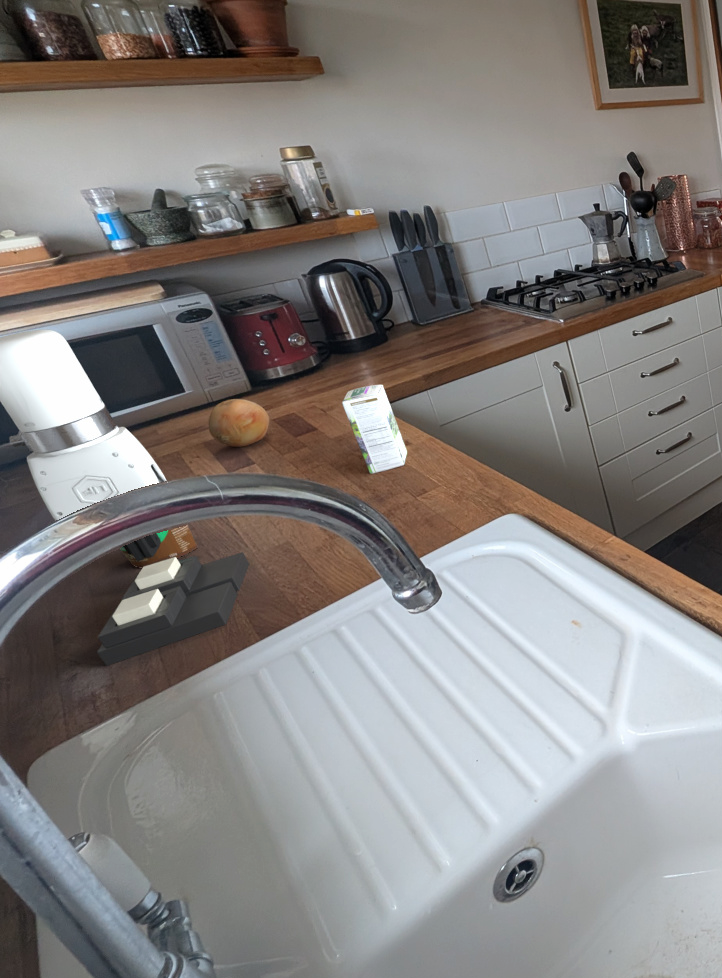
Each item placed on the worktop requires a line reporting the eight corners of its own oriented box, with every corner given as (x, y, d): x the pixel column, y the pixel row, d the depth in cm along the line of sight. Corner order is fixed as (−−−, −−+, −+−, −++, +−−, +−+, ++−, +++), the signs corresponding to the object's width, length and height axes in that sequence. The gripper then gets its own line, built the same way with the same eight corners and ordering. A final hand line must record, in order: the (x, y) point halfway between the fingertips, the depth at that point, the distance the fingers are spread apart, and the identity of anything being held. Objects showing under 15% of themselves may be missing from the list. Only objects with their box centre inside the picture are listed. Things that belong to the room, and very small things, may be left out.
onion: (288, 430, 145) (268, 387, 141) (256, 452, 136) (233, 407, 132) (244, 435, 145) (223, 393, 141) (209, 458, 136) (185, 413, 132)
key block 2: (106, 666, 81) (88, 641, 80) (126, 631, 87) (110, 607, 85) (226, 624, 86) (212, 599, 84) (238, 594, 92) (224, 570, 90)
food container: (100, 573, 101) (63, 517, 97) (142, 547, 106) (109, 493, 102) (166, 574, 98) (131, 517, 94) (206, 548, 104) (174, 493, 100)
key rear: (140, 591, 89) (133, 581, 88) (149, 577, 92) (143, 566, 91) (174, 580, 90) (168, 570, 89) (182, 566, 93) (176, 556, 92)
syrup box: (374, 461, 126) (345, 390, 120) (409, 452, 128) (381, 382, 122) (370, 475, 121) (339, 401, 115) (406, 465, 123) (377, 392, 117)
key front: (119, 627, 82) (111, 616, 81) (129, 610, 85) (122, 599, 84) (156, 615, 84) (149, 604, 83) (164, 599, 87) (158, 588, 86)
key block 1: (128, 627, 88) (112, 603, 86) (146, 597, 94) (131, 574, 92) (239, 590, 93) (226, 566, 91) (249, 564, 98) (237, 541, 97)
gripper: (-28, 464, 76) (63, 592, 83) (139, 423, 82) (210, 546, 89) (5, 439, 82) (87, 561, 90) (158, 403, 88) (223, 520, 96)
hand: (148, 553), depth 89 cm, fingers closed
